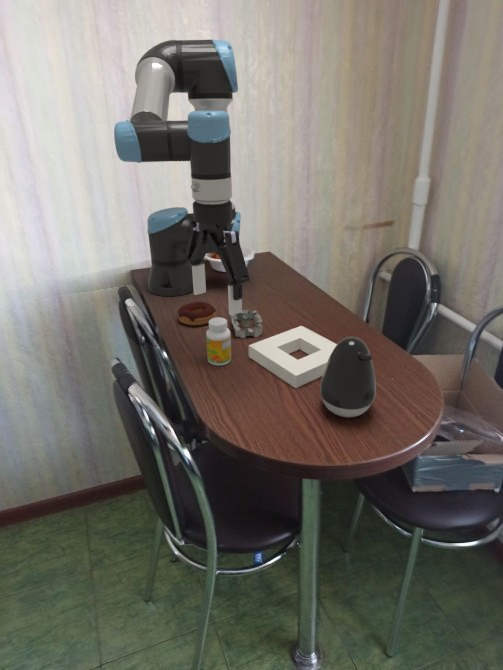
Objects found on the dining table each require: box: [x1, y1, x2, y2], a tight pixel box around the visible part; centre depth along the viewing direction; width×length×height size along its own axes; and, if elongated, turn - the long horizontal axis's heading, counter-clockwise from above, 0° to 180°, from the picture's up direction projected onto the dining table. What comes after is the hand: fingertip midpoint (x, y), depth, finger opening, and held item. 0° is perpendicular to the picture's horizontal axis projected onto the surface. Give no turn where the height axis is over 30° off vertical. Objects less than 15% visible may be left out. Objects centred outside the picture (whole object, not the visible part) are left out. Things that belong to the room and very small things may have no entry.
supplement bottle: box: [205, 316, 232, 366], centre depth 105 cm, size 5×5×10 cm
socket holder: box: [248, 325, 338, 389], centre depth 106 cm, size 16×16×3 cm
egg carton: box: [230, 309, 264, 339], centre depth 120 cm, size 11×8×4 cm
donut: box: [177, 301, 217, 327], centre depth 125 cm, size 10×10×4 cm
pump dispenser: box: [319, 336, 377, 418], centre depth 87 cm, size 10×10×15 cm
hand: (216, 302), depth 100 cm, fingers open, 13 cm apart
